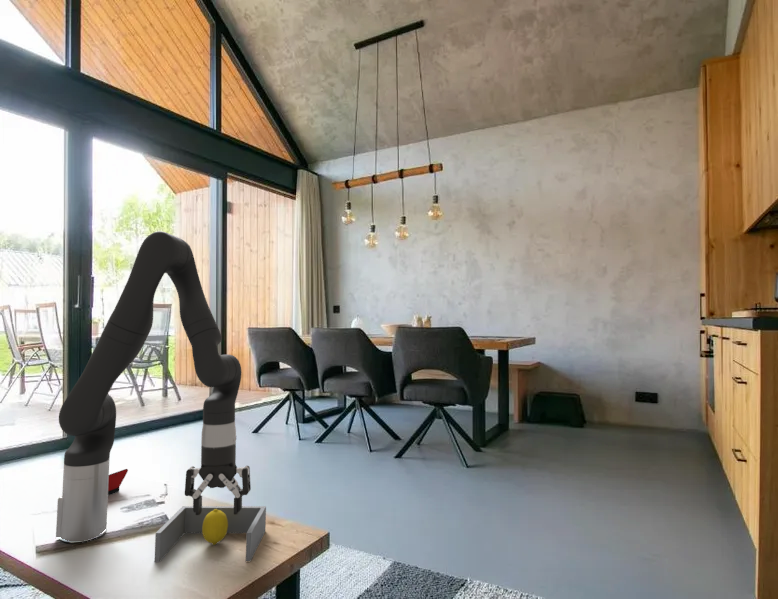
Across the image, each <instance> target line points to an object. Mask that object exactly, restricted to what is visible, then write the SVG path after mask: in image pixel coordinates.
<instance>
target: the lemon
mask: <svg viewBox="0 0 778 599" xmlns="http://www.w3.org/2000/svg"><path fill="white" fill-rule="evenodd" d="M227 529H228V520H227V517H226V515H225V513H224V512H222V511H220V510H218V509H214V510H213V511H211V512H209V513H208V514H207V515H206V517H205V519H204V521H203V526H202V533H201V534H202V536H203V538H204V540H205V542H208V543H209V544H211V545H213V546H216V545H217V544H218V543H219V542H222V540H223V539H224V538H225V537H226V535H227V534H228V533H227Z"/></svg>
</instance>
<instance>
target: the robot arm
mask: <svg viewBox="0 0 778 599" xmlns="http://www.w3.org/2000/svg"><path fill="white" fill-rule="evenodd" d="M129 274H130V275H129V276H128V279H127V282H126V283H125V285H124V288H123V290H122V293H121V295H120V296H119V299H118V300H117V303H116V305H115V307H114V310H112V313H111V314H110V317H109V318H108V320H107V322H106V323H105V326H104V328H103V330H102V333H101V335H100V337H99V339H98V342H97V343H96V346H95V348H94V349H93V351H92V353H91V355H90V356H89V357H90V358H89V360H88V362H87V364H85V365H86V366H85V367H84V370H83V372H82V373H81V375H79V376H80V377H79V378H78V379H77V381H76V383H75V385H73V387H72V389H71V391H70V392H69V394H68V396H66V398H65V400H64V401H63V403H62V406H61V407H60V410H59V413H58V424H59V428H60V429H61V430H62V432H63V433H64V434H66V435H68V436H74V439H73V441H72V443H71V444H70V445H69V447H68V448H67V449H66V450H65V452H64V457H63V471H62V472H63V475H62V476H63V477H62V491H61V492H62V495H61V496H59V497H58V499H57V507H56V508H57V509H56V525H55V527H56V528H55V538H56V537H61V538H62V539H65V540H67V541H68V540H69V541H84V540H88V539H91V538H94V537H96V536H97V535H99V534H100V533H102V532H103V531H104V530H105V529H106V530H107V524H108V523H107V522H108V521H107V520H108V504H109V503H108V502H109V500H108V499H109V495H108V482H109V475H110V454H111V450H112V448H113V446H114V443H115V436H116V435H115V434H116V424H117V422H116V421H117V408H116V403H115V400H114V399H113V397H112V396H111V395H110V394H109V392H110V391H111V389H112V387H113V385H114V384H115V382H117V379H118V378H119V377H120V376H121V375H122V373H123V372H124V371H125V370H126V369H127V368H128V367H129V365H131V364H132V363H133V362H134V360H135V358H136V357H138V355H139V354H140V352H141V350H142V349H143V346H144V344H145V343H146V340H147V339H148V337H149V334H150V332H151V330H152V327H153V325H154V324H153V323H154V301H155V294H156V292H157V289H158V287H159V284H160V282H161V280H162V279H163V277H164V276H165V274H167V275H168V277H169V279H170V280H171V281H172V283H173V285H174V287H175V289H176V291H177V296H178V301H179V302H178V303H179V304H178V305H179V316H180V321H181V324H182V327H183V330H184V332H185V334H186V337H187V339H188V341H189V344H190V346H191V351H192V352H191V353H192V359H193V365H194V371H195V374H196V377H197V378H198V380H199V381H200V382H201V384H203V385H204V386H205V387H208V388H213V389H212V392H211V394H210V396H208V397H207V398H205V400H204V401H203V406H202V407H203V408H202V427H201V428H202V429H201V439H200V440H201V444H200V445H201V446H200V447H201V448H200V449H201V450H200V451H201V452H200V454H201V455H200V456H201V458H200V467H199V468H198V467H195V466H193V465H192V466H190V467H189V468H188V469H187V470H186V472H185V484H184V496H185V497H191V498H192V500H193V501H192V506H193V511H194V512H196V515H200V514H201V512H202V506H203V495H202V494H203V492H204V491H205V490H206V488H207V487H208V488H209V489H214V488H220V489H224V488H227V489H228V491H229V492H231V494H232V495H233V496H234V497H233V506H234V514H238V512H240V510H241V508H242V506H243V496H247V495H248V494H249V493H250V492H251V488H252V487H251V485H252V484H251V468H250V466H249V465H245V466H243V467H241V466H240V467H238V466H237V464H236V463H237V462H236V460H237V456H236V453H237V452H236V451H237V450H236V449H237V447H236V444H237V443H236V442H237V428H236V402H237V401H236V400H237V397H238V395H239V389H240V385H241V381H242V367H241V366H242V365H241V363H240V360H239V359H238V358H237V357H236V356H235V355H233V354H219V350H218V345H220V343H221V342H222V338H223V337H222V334H221V332H220V328H219V327H218V325H217V322H216V320H215V317H214V315H213V313H212V311H211V309H210V307H209V304H208V301H207V298H206V297H205V296H206V295H205V294H204V290H203V286H202V282H201V279H200V277H199V273H198V268H197V264H196V261H195V257H194V254H193V250H192V248H191V246H190V245H189V243H188V242H187V241H185V240H184V239H183V238H180V237H178V236H175V235H173V234H171V233H168V232H165V231H161V230H160V231H159V230H157V231H154V232H152V233H150V234H149V235H147V236H146V237H145V239H144V240H143V242H142V243H141V245H140V246H139V248H138V252H137V254H136V258H135V260H134V262H133V266H132V268H131V271H130V273H129ZM236 474H238V475H239V477H240V478H241V480H242V481H241V482H242V484H241V485H242V487H241V486H240V485H239V482H238V481H237V480H236V479H235V476H236ZM198 475H199V477H200V478H201V479H202V482H201V484H200V485H199V486H198V487H197V489H196V488H195V479H196V477H197V476H198Z"/></svg>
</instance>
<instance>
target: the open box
mask: <svg viewBox="0 0 778 599" xmlns="http://www.w3.org/2000/svg"><path fill="white" fill-rule="evenodd" d="M214 509H218V510H220V511H222V512H224V513H225V515H226V517H227V520H228V529H227V533H226V534H245V535H246V536H245V539H246V540H245V541H246V542H245V562H246V561H250V562H251V561H252V559H253V558H254V555H255V553H256V551H257V549H258V547H259V545H260V543H261V541H262V539H263V537H264V535H265V533H266V521H267V518H266V517H267V506H266V505H265V506H264V505H261V506H260V505H259V506H258V505H251V506H250V505H246V506H244V505H242V508H241V510H240V512H238V514H234V505H231V506H230V505H229V506H228V505H227V506H225V505H224V506H223V505H221V506H220V505H219V506H217V505H214V506H213V505H210V506H209V505H208V506H207V505H206V506H204V505H202V512H201V514H200V515H196V512H194V511H193V505H191V506H190V505H187V506H186V505H185V506H181V507H180V508H179V509H178V510H177V511H176V512H175V513H174V514H173V515H172V516H171V517H170V518H169V519H168V520H167V521H166V522H165V523H164V524H163V525H162V526H161V527H160V528H159V529H158V530H157V531H156V532H155V537H154V538H155V542H154V561H153V562H154V563H160V562H161V561H162V560H163V558H165V556H166V555H167V554H168V553H169V552H170V550H171V549H172V548H173V547H174V546H175V545H176V544H177V542H179V541H180V539H181V538H182V537H183V536H184V534H203V533H202V526H203V521H204V519H205V517H206V515H207V514H208V513H209V512H211V511H213V510H214Z"/></svg>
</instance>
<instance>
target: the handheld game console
mask: <svg viewBox="0 0 778 599" xmlns="http://www.w3.org/2000/svg"><path fill="white" fill-rule="evenodd" d="M128 471H129V469H128V468H125V469H121V470H119V471H116V472H113V473H111V474H110V473H109V482H108V496H110V495H113V494H116V493H119V492H120V487H121V484H122V483H123V481H124V479H125V477H126V475H127V473H128Z"/></svg>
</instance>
